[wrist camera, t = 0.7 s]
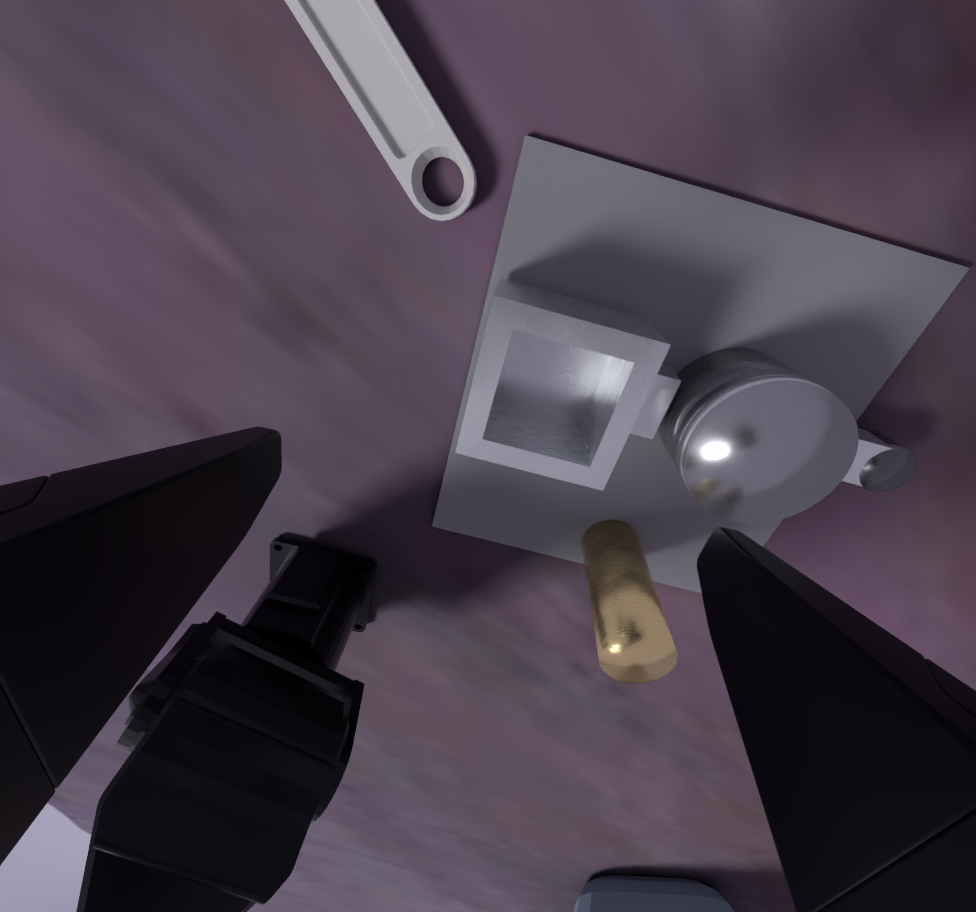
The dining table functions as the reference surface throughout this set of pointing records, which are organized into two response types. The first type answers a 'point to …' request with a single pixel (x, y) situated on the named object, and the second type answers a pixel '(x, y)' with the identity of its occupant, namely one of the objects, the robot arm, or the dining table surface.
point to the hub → (756, 436)
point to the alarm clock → (648, 895)
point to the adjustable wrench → (386, 94)
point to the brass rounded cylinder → (625, 605)
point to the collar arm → (591, 392)
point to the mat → (682, 332)
